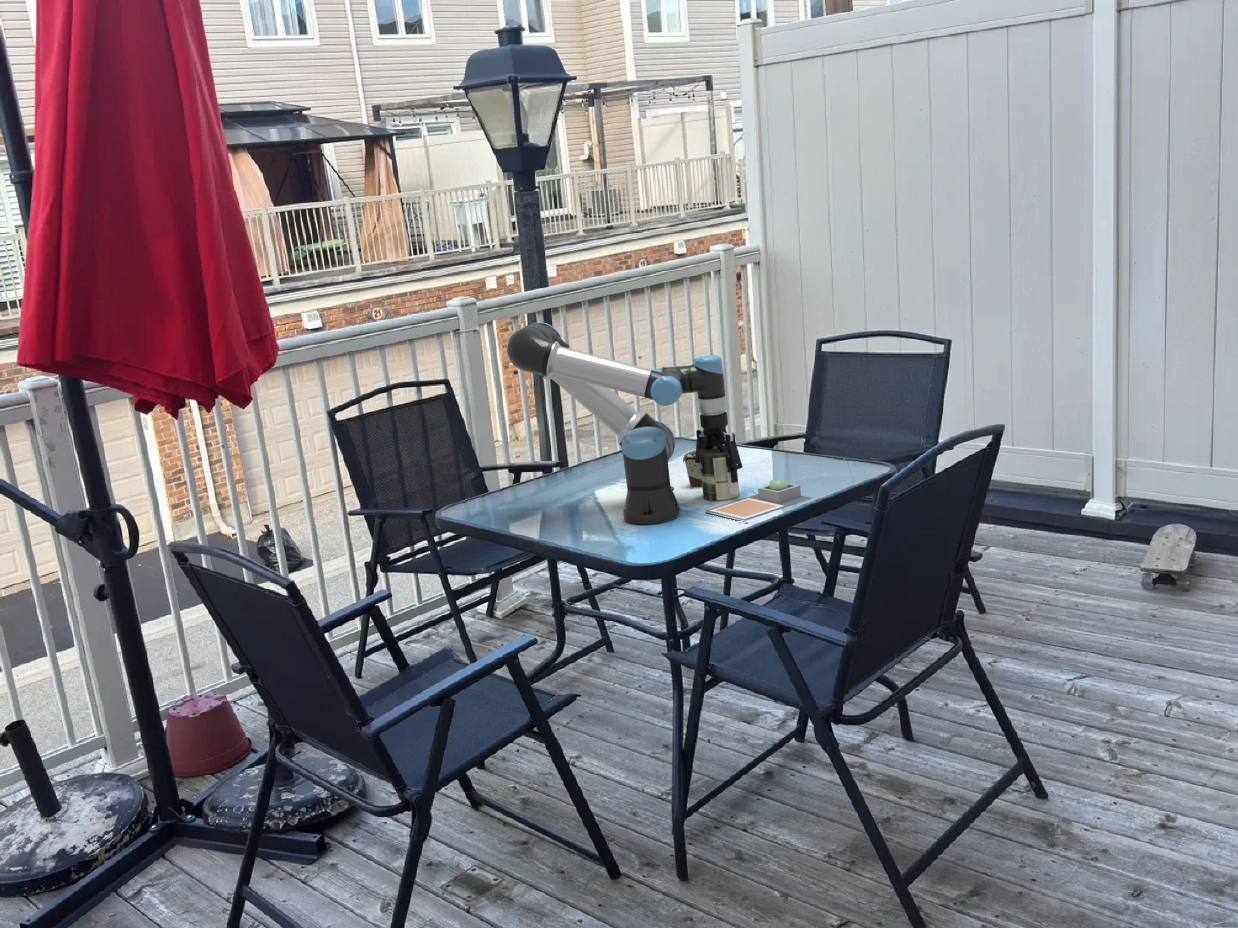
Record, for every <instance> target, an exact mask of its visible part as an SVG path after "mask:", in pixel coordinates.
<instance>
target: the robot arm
mask: <svg viewBox="0 0 1238 928" xmlns="http://www.w3.org/2000/svg"><path fill="white" fill-rule="evenodd" d="M506 353H507V357H508V359H509V361H510V363H511V364H512V365H513V366H514V367H515V368H517V369H519V370H520V371H523V372H527V373H531V374H537V375H538V376H540V378H542V380H552V381H553V382H555V383H556V384H557V385H558V386H559V387H561V388H562V389H563V390H564V391H566V393H567V394H568V395H570V397H572V398H573V399H574V400H575V401H577V402H578V403H579V404H580V405H582V406H583V407H584V409H586V410H587V411H588V412H589V413H590V414H592V415H593V417H595V418H596V419H597V420H599V421H600V422H601V423H602V424H603V425H604V426H606V427H607V428H608V429H609V430H610V431H611V432H612V433H614V434H615V435H616V437H617V444H618V445H620V447H621V452H622V455H623V458H622V459H623V465H624V472H625V475H624V476H625V482H626V491H627V492H626V497H625V503H624V509H623V513H622V514H623V519H624V522H626V523H628V524H633V525H655V524H656V525H657V524H661V523H662V524H663V523H665V522H668V521H672V520H674V519H677V518H678V517H679V516H680V515H681V511H680V504H679V502H678V500H677V497H676V495H675V492H674V491H673V488H672V486H671V479H670V469H669V460H670V459H671V458H672V456H673V454H674V452H675V447H676V443H675V442H676V439H675V435H674V433H673V431H672V429H671V427H669V426H668V425H667V424H665V423H664V422H662V421H659V420H655V419H654V418H653V417H652V415H651V416H650V415H649V413H648V412H645V411H641V412H639V411H636V409H634V408H633V407H632V406H631V405H629V403H628V402H626V401H625V399H623V398H621V396H619V394H617V393H616V392H615V391H618V392H623V393H625V394H629V395H634V396H637V397H641V398H646V399H648V400H652V401H654V402H655V403H656V404H658V405H660V406H664V407H667V406H671V405H673V404H675V403H676V402H677V401H679V400H680V398H681V395H683V394H684V395H685V394H690V393H692V394H694V393H697V404H698V412H699V413H700V414H699V422H700V423H699V424H700V429H697V430H695V432H696V433H695V435H696V445H695V451H696V454H695V462H696V463H699V465H700V460H699V454H698V451H699V450H701V449H703V448H704V450H708V449H712V448H713V447H714V446H715V447H717V449H718V450H720V452H721V453H724V452H728V453H729V456H725V457H726V465H727V467H728V471H727V480H728V490H729V495H732V494H736V493H738V485H739V484H738V485H737V482H738V483H739V478H738V477H739V475H737V474H738V470H741V469H742V468H743V463H742V460H741V456H740V454H739V449H738V445H737V442H736V433H734V432H731V433H730V432H729V433H728V431H727V429H726V428H727V426H728V425H729V420H728V419H729V418H728V412H727V411H726V410H727V409H728V407H727V401H726V399H727V397H726V387H725V386H726V385H725V374H724V368H723V363H722V362H723V361H722V357H721V356H719V355H716V354H706V355H699V356H697V357H694V360H693V361H694V362H693V364H690V365H689V364H688V365H681V366H678V365H677V366H667V367H666V366H663V367H659V368H653V369H650V368H647V367H646V368H645V367H643V366H642V367H641V366H639V365H634V364H631V363H627V362H623V361H619V360H615V359H612V358H607V357H603V356H599V355H596V354H592V353H587V352H583V351H581V350H575V349H572V347H571V346H570V345H569V344H568V343H567V342H565V341H564V340H563V339H562V337H561V334H560V333H559V331H558V329H556V328H555V327H554V326H552V325H551V324H548V323H546V322H532V323H529V324H527V325H525V326H523V328H520V329H518V330H516V331H515V332H513V334H512V335H511V336H510V337H509V339H508V342H507V346H506ZM613 390H615V391H613Z"/></svg>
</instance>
